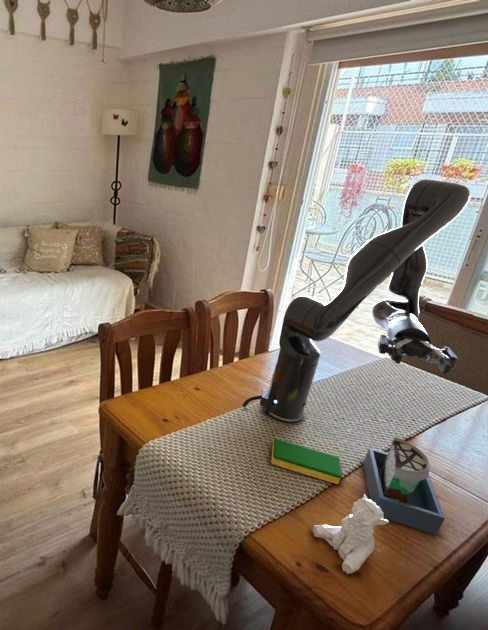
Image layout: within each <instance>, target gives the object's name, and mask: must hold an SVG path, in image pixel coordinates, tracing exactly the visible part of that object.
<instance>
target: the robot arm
mask: <svg viewBox="0 0 488 630" xmlns="http://www.w3.org/2000/svg"><path fill="white" fill-rule="evenodd" d="M470 198H471V191H470V189H469V188H468V187H467V186H465V185H463V184H460V183H456V182H449V181H443V180H435V179H427V178H426V179H420V180H418V181H417V182H415V184H413V185H412V186H411V188H410V189H409V190H408V192H407V194H406V197H405V198H404V199H405V200H404V202H403V208H402V215H401V222H400V224H401V225H400V226H399V227H396V228H393V229H389V230H388V231H385V232H383V233H379V234H378V235H375V236H373V237H372V238H370V239H368V240H367V241H366V242H365V243H364V244H363V245H362V246H361V247H360V248H358V250H357V251H355V253H353V254H352V255H351V256H350V258H349V259H348V262H347V264H346V268H345V274H344V280H343V281H344V282H343V285H342V288H341V290H340V291H339V292H338V294H337V295H336V296H335V297H334V298H333V299H332V300H331V301H329V302H328V303H326V302H323V301H321V300H318V299H316V298H314V297H312V296H309V295H298V296H296V297H294V298H293V299H292V300H291V302H290V303H289V304H288V306H287V308H286V310H285V313H284V316H283V319H282V325H281V330H280V334H279V342H278V343H279V352H278V356H277V360H276V363H275V367H274V371H273V373H272V376H271V380H270V383H269V388H268V389H267V388H262V390H261V394H260V395H256V396H251V397H249V398H247V399H246V400H245V401H244V402H243V404H242V405H241V406H242V407H243V408H246V407H247V406H248V404H249V403H250V402H252V401H256V400H259V401H260V402H259V406H261V407H263V408H264V414H267V415H269V416H271V417H273V418H274V419H276V420H280V421H282V422H287V423H296V422H299V421H301V420H302V418H303V413H304V412H305V411H304V410H305V408H307V403H308V398H309V394H310V390H311V387H312V384H313V381H314V377H315V374H316V371H317V368H318V365H319V361H320V358H321V351H320V349H319V348H318V347H317V345H316V344H315V343H314V342H322V341H325V340H327V339H328V338H330V337H331V336H332V335H333V334H335V333H336V331H338V329H339V328H340V327H342V325H343V324H344V323H345V321H346V320H347V319H348V318H349V317H350V316H351V315H352V314H353V313H354V311H355V310H356V309H357V308H358V307H359V305H360V304H361V303H362V302H364V300H365V299H366V298H368V296H370V295H371V294H372V292H374V290H376V289H377V287H379V286H380V285H381V284H382V283H383V282H384V281H385V280H387V278H389V277H390V279H389V282H388V285H387V289H388V291H389V292H390V293H391V294H394V295H396V296H399V297H402V298H405V300H399V299H391V298H382V299H379V300H377V301H376V302H375V303H373V306H372V310H371V316H372V319H373V320H374V322H375V323H376V324H377V325H378V326H380V327H381V328H383V329H384V330H386V332H387V335H385V334H380V336H379V338H378V341H377V349H378V352H379V353H380V354H382V355H385V354H388V356H389V357H390V359H391V360H392V361H393V362H394V364H398V365H400V364H401V361H402V359H403V356H404V357H411V358H412V357H415V358H417V359H420V360H422V361H425V362H427V363H428V364H434V365H436V366H437V367H438V369H439V371H440V372H441V374H447V373H450V372H451V369H454V368H455V365H456V363H457V361H458V359H459V358H458V356H457V355H456V353H455V352H454V351H453V350H452V349H451V348H450V347H448V346H443V348H442V349H441V348H437V347H436V346H435V345H433V344H432V341H431V337H430V336H429V334H428V333H427V331H426V329H425V328H424V327H423V325H422V324H421V322H419V318H420V307H419V305H420V304H419V301H420V291H421V288H422V284H423V282H424V279H425V276H426V273H427V270H428V258H427V254H426V250H425V247H424V244H425V243H426V242H427V241H428V240H430V239H431V238H432V237H434V236H435V235H436V234H437V233H439V232H440V231H441V230H442V229H445V227H447V226H448V225H449V224H450V223H451V222H453V221H454V220H455V219H456V218H457V217H458V216H459V215H460V214H461V213H462V212H463V210H464V209H465V208H466V207H467V205H468V203H469V201H470ZM313 341H314V342H313ZM438 358H439V360H438Z"/></svg>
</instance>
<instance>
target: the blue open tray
mask: <svg viewBox="0 0 488 630" xmlns="http://www.w3.org/2000/svg"><path fill="white" fill-rule="evenodd" d="M387 455H388V452H385V451H381V450H377V449H374V448H370V447H368V449H367V452H366V454H365V457H364V460H363V462H362V465H363V470H364V474H365V480H366V485H367V490H368V491H367V492H368V497H369V499H370V500H372V501H373V502H375V503H376V505H377V506H379V507H380V508H381V510H382V512H383V516H384V518H383V519H386V520H388V521H389V520H390V521H392V522H395V523H399V524H402V525H404V526H408V527H411V528H414V529H416V530H420V531H423V532H426V533H429V534H433V535H436V536H437V534H438V532H439V530H440V529H441V527H442V525H443V523H444V521H445V519H446V517H445V515H444V512H443V509H442V506H441V504H440V501H439V499H438V496H437V493H436V490H435V488H434V485H433V482H432V479H431V477H430V475H428V477H427V478H426V479H424V480H420V482H419V483H418V485H417V486H416V488H415V490H414V491H413V493H412V494H411V496H410V498H409V499H408V501H407V502H406V503H402V502H399V501H396V500H392V499H389V498H386V497H384V495H383V491H382V486H381V482H380V473H381V470H382V468H383V465H384V463H385V460H386V457H387Z"/></svg>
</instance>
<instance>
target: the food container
mask: <svg viewBox="0 0 488 630" xmlns="http://www.w3.org/2000/svg"><path fill="white" fill-rule="evenodd" d="M387 453H388V455H387V457H386V460H385V463H384V465H383V468H382V470H381V473H380V482H381V486H382V491H383V495H384V497H386V498H389V499H392V500H396V501H399V502H402V503H406V502H407V501H408V499H409V498H410V496H411V494H412V493H413V491H414V490H415V488H416V486H417V485H418V483H419V482H420V480H424V479H426V478H427V477H428V475H429V474H430V461H429V459H428V457H427V456H426V454H425V453H424V452H423V451H422V450H421V449H419V448H418V447H416V446H415V445H413V443H412V444H411V443H410V442H409V441H406V440H404V439H402V438H399V437H396V436H394V438H393V439H392V441H391V444H390V447H389V449H388V452H387ZM429 476H430V475H429Z"/></svg>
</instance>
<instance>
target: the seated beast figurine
mask: <svg viewBox="0 0 488 630" xmlns="http://www.w3.org/2000/svg"><path fill="white" fill-rule="evenodd" d="M340 523H341V524H340V525H338V526H334V525H328V524H314V525H313V526H312V533H313V536H314V537H316V538H318V539H323V540H324V541H326V542H327V543H328V544H329V545H330V547H333V549H332V550H334V551H336V550H337V555H338V556H339V558H341V559H342V560H343V561H342V564H341V568H342V571H343V572H345V574H348V575H349V574H354V573H356V572H357V571H358V570H360V568H361V567H362V565H363V564H364V563H365V561H366V560H367V559H368V557H370V556H371V554H372V553H373V552H374V551H375V545H376V543H375V541H374V540H375V537H374V534H375V531H374V528H376V527H377V526H385V525H387V524H388V523H390V521H389V519H386V518H384V516H383V512H382V510H381V508H380V507H379V506H377V505H376V503H375V502H373V501H372V500H370V498H368V496H367V494H365V493H364V494H363V497H362V498H360V499H357V500H356V501H355V502H353V505H352V508H351V513H349V514H348V516H345V517H344V518H341V520H340Z"/></svg>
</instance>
